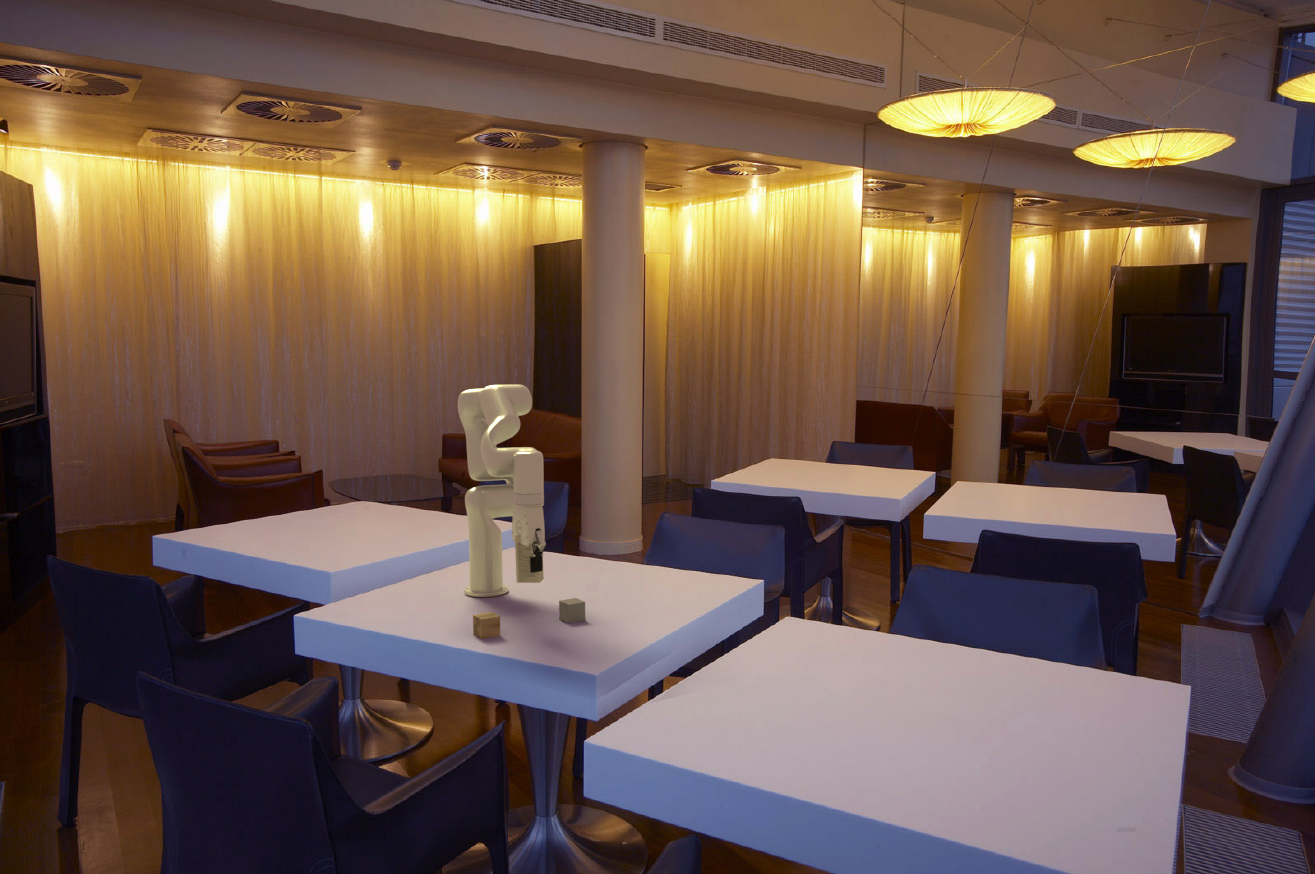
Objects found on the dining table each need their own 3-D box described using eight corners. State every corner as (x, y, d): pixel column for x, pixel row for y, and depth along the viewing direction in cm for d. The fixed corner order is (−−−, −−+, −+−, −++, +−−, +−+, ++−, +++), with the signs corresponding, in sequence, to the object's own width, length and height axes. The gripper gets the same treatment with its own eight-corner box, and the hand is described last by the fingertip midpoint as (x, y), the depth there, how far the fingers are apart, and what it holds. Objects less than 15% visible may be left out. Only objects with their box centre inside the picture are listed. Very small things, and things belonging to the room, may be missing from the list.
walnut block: (473, 634, 223) (472, 614, 223) (492, 631, 226) (491, 611, 226) (481, 639, 219) (480, 619, 219) (500, 635, 222) (500, 616, 222)
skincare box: (544, 579, 231) (543, 532, 230) (540, 583, 226) (539, 535, 225) (519, 578, 231) (518, 531, 230) (515, 582, 227) (514, 535, 226)
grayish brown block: (559, 619, 237) (559, 600, 236) (576, 616, 240) (575, 597, 239) (568, 623, 233) (568, 604, 232) (585, 620, 235) (585, 601, 235)
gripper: (500, 496, 232) (501, 564, 234) (530, 505, 218) (531, 577, 219) (527, 494, 236) (528, 560, 238) (558, 502, 222) (558, 573, 223)
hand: (529, 568), depth 229 cm, fingers closed on skincare box, 7 cm apart
